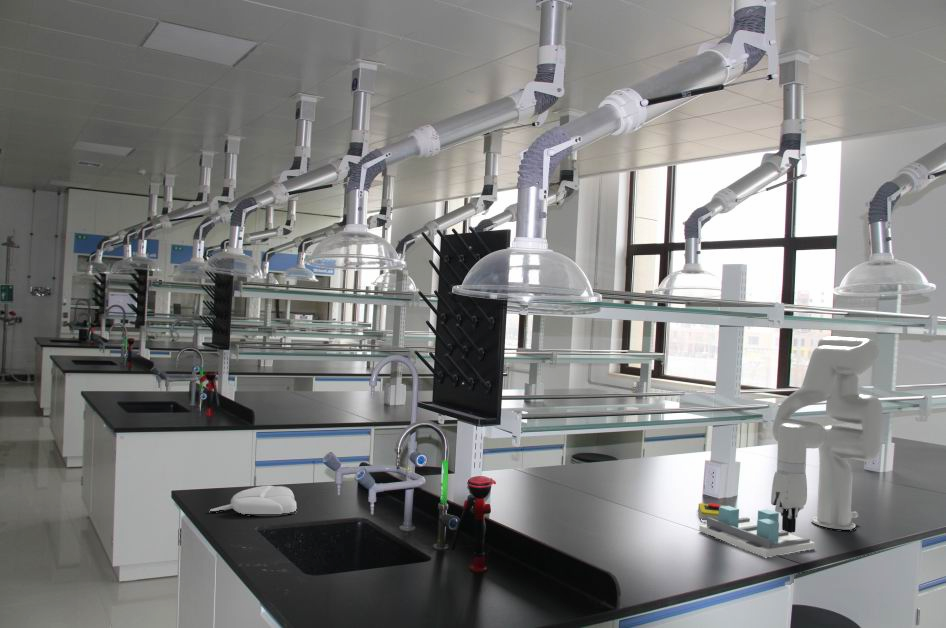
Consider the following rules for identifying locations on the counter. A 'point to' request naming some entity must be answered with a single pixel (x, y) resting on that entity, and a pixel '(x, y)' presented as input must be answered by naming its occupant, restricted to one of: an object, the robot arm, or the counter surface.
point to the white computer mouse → (262, 501)
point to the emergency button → (709, 511)
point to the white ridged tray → (754, 538)
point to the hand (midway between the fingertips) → (788, 530)
